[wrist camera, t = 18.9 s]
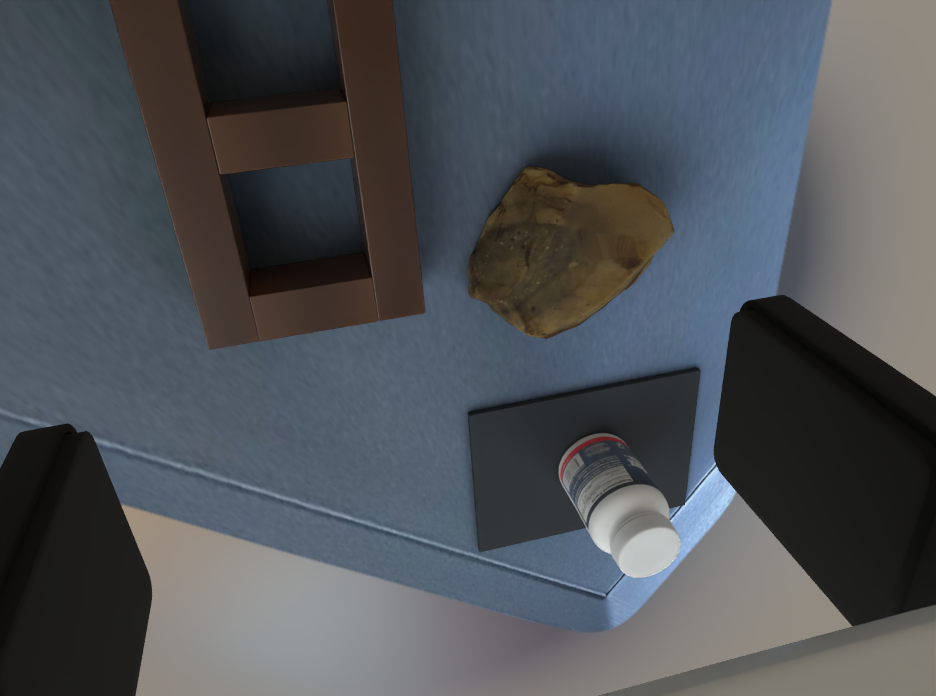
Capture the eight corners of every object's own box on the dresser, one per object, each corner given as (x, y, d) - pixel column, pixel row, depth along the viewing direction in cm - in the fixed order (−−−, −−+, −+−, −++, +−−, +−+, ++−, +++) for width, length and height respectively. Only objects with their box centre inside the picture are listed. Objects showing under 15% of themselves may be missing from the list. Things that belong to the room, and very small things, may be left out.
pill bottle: (636, 469, 51) (701, 559, 44) (571, 503, 51) (624, 600, 44) (614, 417, 48) (678, 505, 41) (545, 454, 48) (597, 548, 41)
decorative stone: (565, 346, 45) (586, 375, 42) (441, 284, 41) (455, 312, 38) (668, 204, 42) (699, 224, 39) (545, 121, 38) (569, 137, 35)
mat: (478, 548, 52) (479, 552, 51) (467, 412, 46) (469, 415, 45) (682, 501, 54) (685, 505, 54) (697, 367, 48) (700, 370, 48)
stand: (213, 319, 39) (208, 350, 36) (95, -111, 29) (75, -117, 26) (414, 286, 41) (425, 313, 38) (367, -127, 31) (378, -135, 28)
